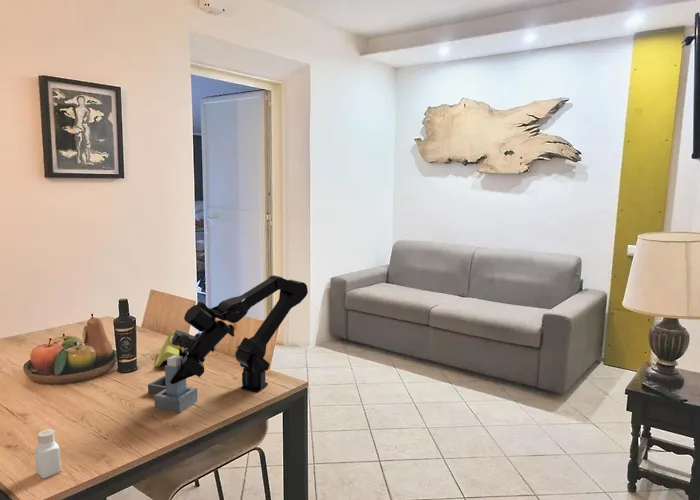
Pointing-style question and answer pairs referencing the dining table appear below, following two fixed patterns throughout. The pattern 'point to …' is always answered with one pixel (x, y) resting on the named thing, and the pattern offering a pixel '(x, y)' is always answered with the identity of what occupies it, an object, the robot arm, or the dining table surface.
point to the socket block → (175, 400)
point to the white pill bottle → (47, 454)
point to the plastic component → (167, 350)
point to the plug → (170, 371)
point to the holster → (157, 386)
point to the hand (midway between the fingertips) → (170, 379)
